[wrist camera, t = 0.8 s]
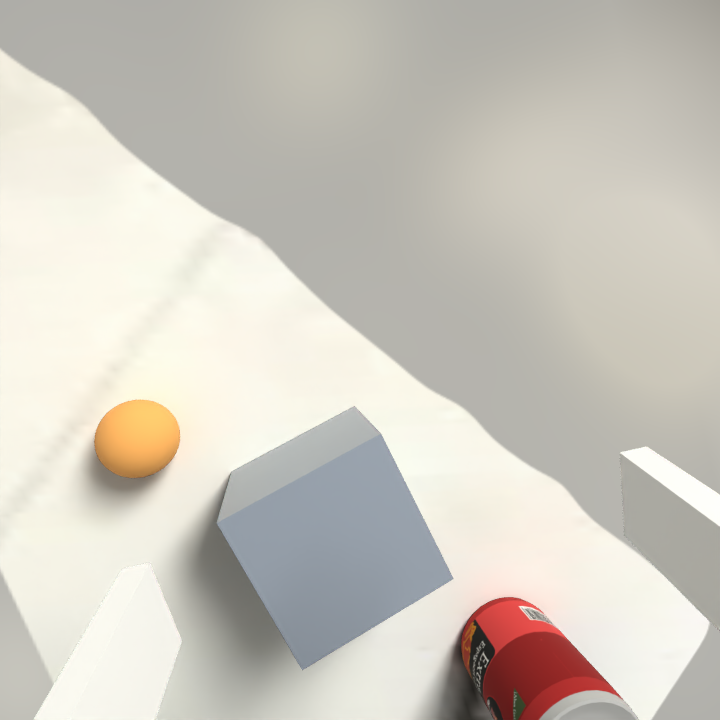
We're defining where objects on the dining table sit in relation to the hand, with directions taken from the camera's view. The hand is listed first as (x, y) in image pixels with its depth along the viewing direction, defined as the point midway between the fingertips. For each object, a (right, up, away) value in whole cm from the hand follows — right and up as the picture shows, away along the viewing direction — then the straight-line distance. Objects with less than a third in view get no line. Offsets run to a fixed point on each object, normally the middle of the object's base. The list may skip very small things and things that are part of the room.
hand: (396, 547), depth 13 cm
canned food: (+11, -18, +26) cm, 34 cm away
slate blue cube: (-4, -5, +22) cm, 23 cm away
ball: (-15, 0, +17) cm, 23 cm away
